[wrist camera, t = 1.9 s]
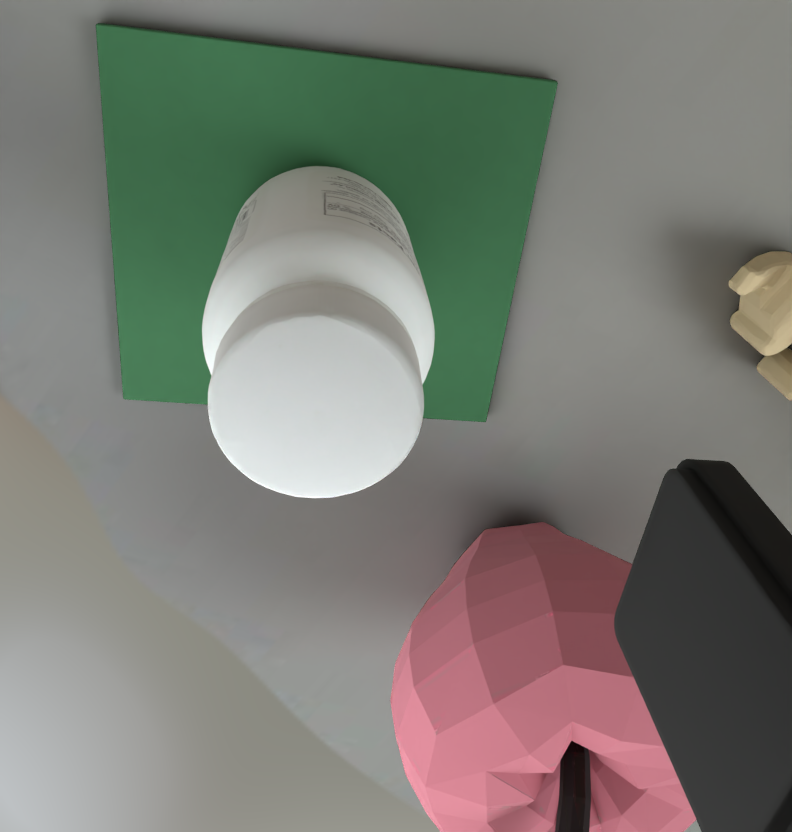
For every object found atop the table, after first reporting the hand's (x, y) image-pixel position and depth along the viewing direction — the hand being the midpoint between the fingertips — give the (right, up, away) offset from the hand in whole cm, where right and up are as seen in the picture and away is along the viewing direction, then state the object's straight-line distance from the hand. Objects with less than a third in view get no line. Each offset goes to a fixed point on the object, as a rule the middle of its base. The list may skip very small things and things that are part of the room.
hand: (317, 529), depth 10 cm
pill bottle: (-1, +6, +9) cm, 10 cm away
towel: (-1, +6, +9) cm, 10 cm away
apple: (+5, -3, +15) cm, 16 cm away
